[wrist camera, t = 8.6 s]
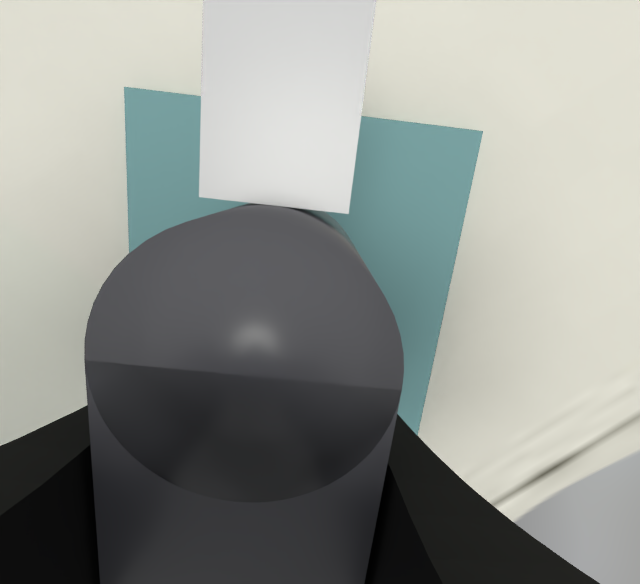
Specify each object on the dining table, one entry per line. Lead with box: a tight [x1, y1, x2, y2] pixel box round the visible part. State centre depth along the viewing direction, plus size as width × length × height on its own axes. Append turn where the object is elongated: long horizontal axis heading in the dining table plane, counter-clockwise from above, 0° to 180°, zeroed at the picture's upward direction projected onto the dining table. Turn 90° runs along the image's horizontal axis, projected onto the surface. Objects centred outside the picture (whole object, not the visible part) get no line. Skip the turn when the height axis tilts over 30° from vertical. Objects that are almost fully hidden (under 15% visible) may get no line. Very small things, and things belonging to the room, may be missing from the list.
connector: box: [85, 0, 404, 584], centre depth 8 cm, size 13×4×5 cm, turn 174°
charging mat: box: [124, 87, 483, 435], centre depth 16 cm, size 16×13×1 cm
